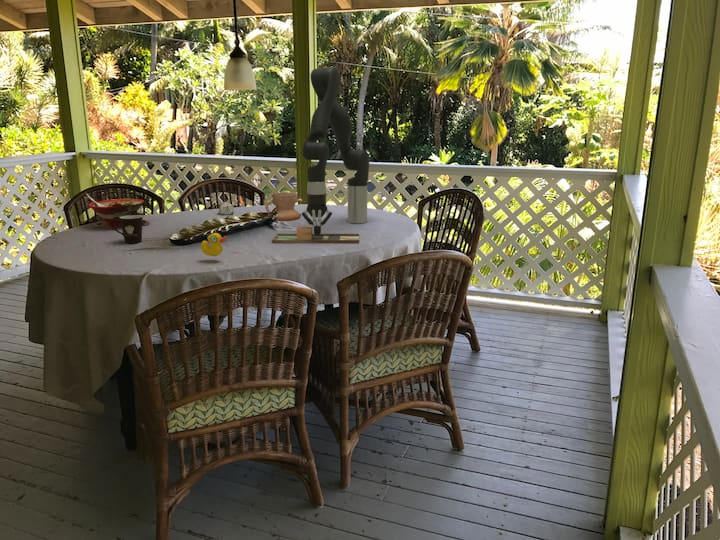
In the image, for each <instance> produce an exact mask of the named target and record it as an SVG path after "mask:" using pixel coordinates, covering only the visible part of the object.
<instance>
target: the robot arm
mask: <svg viewBox="0 0 720 540" xmlns="http://www.w3.org/2000/svg"><path fill="white" fill-rule="evenodd" d="M310 83H311V86H312V88H313V90H314V93H315V94H316V96H317V98H318V100H319V104H318V106H317V107H316V109H315V110H314V112H313V115H312V117H311V123H310V129H309V132H308V135H307V137H306V139H305V141H304V143H303V146H302V151H301V152H302V156H303V158H304V159H305V160H306V161H318V163H317V164H316V165H312V166H309V167H308V168H307V187H306V193H307V195H306V196H307V207H306V209H305V210H304V211H303V212H302V213H301V216H302V217H303V219H304V220H305V221H306V222H307V223H308V224H309V225H310V226H312V227H313V234H316V235H319V234H322V233H321V232H322V226H323V225H325V224H326V223H327V222H328V221H329V219H330V218H331V216H332V215H333V212H332V211H330V210H329V209H328V206H327V188H326V187H327V185H326V168H327V167H326V166H327V163H328V159H329V154H330V148H329V145H328V144H327V143H326V142H323V141H322V142H321V141H320V140H324V139H326V138H327V136H328V131H329V126H330V129H331V130H332V133H333V134H334V136H335V140H336V143H337V146H338V148H339V151H340V155H341V159H342V162H343V165H344V167H345V168H346V169H347V170H349V171H356V175H355V176H353V177H350V178H348V179H347V223H350V224H366V223H367V222H368V181H369V173H370V171H369V170H370V156H369V153H368V151H367V150H361V149H353V148H352V146H351V144H350V139H351V136H352V132H353V128H354V127H353V126H354V125H353V122H352V120H351V116H350V113H349V112H348V110H347V109H346V108H345V107H344V106H343V105H342V104H341V103H340V102H338V101H337V100H336V99H337V96H338V91H339V88H340V84H341V75H340V72H339V69H338V68H337V67H335V66H326V67H319V68H314V69H312V70H311V72H310ZM319 141H320V142H319ZM324 215H326V216H325V217H324ZM309 216H310V217H311V218H312V219H311V218H310V217H309ZM323 217H324V219H323V220H322V218H323Z"/></svg>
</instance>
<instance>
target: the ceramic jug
mask: <svg viewBox="0 0 720 540" xmlns="http://www.w3.org/2000/svg"><path fill="white" fill-rule="evenodd" d="M271 197H272V199H268V200H267V201H266V202H265V204H264V205H265V210H266V212H267V214H268V215H269V213H271V211H270V209H269V204H273V205H274V206H275V208H276V209H274V211H276V212H277V213H278V216H277V219H276V220H275V221H278V222H291V221H297V220H300V219H301V216H302V213H300V212H299V211H298V210H296V209H295V206H296V204H297V203H299V202H301V203H302V202H303V199H302V198H298V193H297V192H293V191H290V192H288V191H287V192H286V191H284V192H283V191H282V192H272V193H271Z"/></svg>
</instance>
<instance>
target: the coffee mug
mask: <svg viewBox="0 0 720 540" xmlns="http://www.w3.org/2000/svg"><path fill="white" fill-rule="evenodd" d="M119 218H120V221H118V220H114V221H112V222H111V227H112V228H111V229H113V230H114V231H115V232H117V233H119V234H121V235H122V236H123V240H124V243H126V244H136V243H141V242H142V241H143V225H142V220H143V215H137V214H134V215H129V216H122V217H119ZM113 222H119V223H120V225H121V227H120V228H121V230H122V231H120V230H117V228H116V229H115V228H114V227H113V226H112V224H113Z"/></svg>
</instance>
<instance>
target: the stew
mask: <svg viewBox="0 0 720 540" xmlns="http://www.w3.org/2000/svg"><path fill="white" fill-rule="evenodd" d="M85 194H86V196H87V198H88V199H89V200H91V201H90V202H91V203H88V207H90V209H92V210H93V211H94V213H96V214H97V215H98V217H99V218H100V219H101V220H102V221H98V222H95V223H94V224H93V225H94V227H97V228H98V227H99V228H105V229H106V228H107V227H108V228H110V229H113V228H112V227H111V222H112V221H114V220H118V221H120V218H119V217H122V216H129V215H136V213H137V211H138V210H139V209H141V208H142V206H143V204H144V203H145V200H144V199H137V198H127V197H126V198H124V197H122V198H114V199H104V200H99V201H95V200H94V199H93V198H92V197H91V196H90V194H88V193H86V192H85ZM144 217H145V216H144V215H142V218H144ZM104 223H105V224H106V225H107V226H102V225H103V224H104ZM149 223H150V221H149V220H146V219H142V226H143V227H148V226H149ZM112 226H113V227H114V228H115V229H116V230H117V229H119V228H122V227H121V225H120V223H119V222H113V224H112Z"/></svg>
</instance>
